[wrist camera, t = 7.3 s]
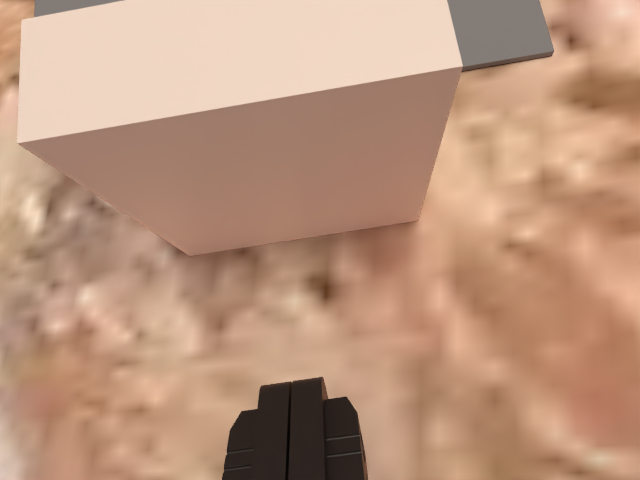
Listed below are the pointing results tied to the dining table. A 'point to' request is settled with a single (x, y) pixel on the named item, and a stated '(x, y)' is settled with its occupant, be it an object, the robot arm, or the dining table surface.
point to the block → (243, 112)
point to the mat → (468, 21)
